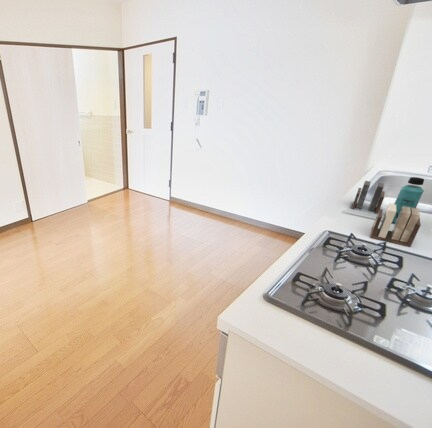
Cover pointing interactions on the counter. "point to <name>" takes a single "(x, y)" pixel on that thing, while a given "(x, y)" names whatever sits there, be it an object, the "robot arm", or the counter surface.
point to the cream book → (387, 220)
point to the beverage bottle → (409, 196)
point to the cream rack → (400, 227)
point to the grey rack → (376, 198)
